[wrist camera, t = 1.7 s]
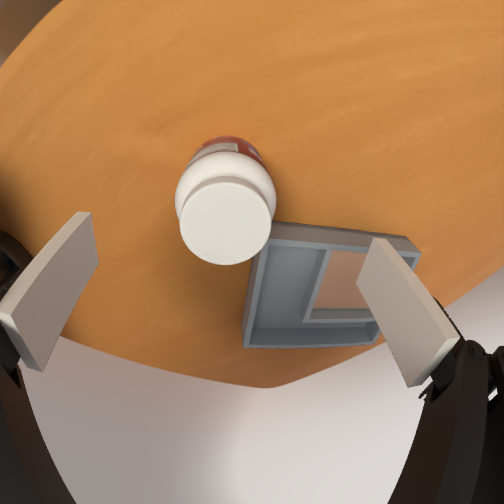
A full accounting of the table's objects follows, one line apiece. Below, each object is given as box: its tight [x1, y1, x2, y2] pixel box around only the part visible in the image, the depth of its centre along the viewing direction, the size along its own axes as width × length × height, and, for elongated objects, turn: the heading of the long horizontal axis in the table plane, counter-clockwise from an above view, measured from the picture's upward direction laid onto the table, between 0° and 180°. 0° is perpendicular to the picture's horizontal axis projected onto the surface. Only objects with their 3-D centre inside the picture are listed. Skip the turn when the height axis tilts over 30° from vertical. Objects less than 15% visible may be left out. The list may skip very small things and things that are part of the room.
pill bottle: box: [175, 135, 276, 265], centre depth 19 cm, size 6×6×11 cm
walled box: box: [241, 221, 422, 348], centre depth 30 cm, size 17×14×4 cm
